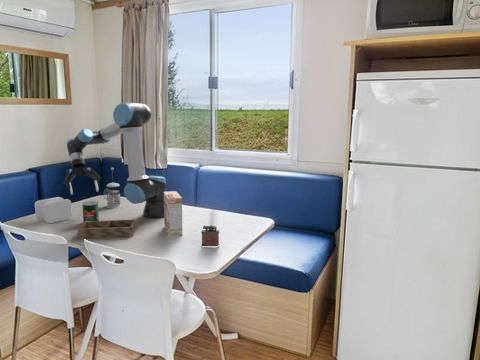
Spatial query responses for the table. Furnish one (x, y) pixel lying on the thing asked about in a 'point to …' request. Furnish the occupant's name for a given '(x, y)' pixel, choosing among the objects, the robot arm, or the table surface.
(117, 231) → the slot caddy
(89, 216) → the canned tomato
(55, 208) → the cable organizer
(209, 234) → the lighter
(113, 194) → the french press
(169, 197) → the coffeecake box
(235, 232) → the table surface
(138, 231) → the table surface
